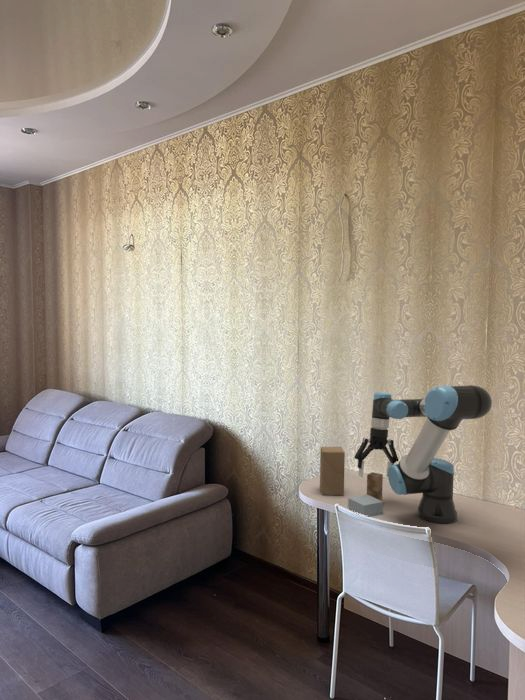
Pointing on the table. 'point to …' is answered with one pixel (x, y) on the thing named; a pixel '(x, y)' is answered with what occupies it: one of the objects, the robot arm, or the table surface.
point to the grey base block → (365, 505)
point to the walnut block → (375, 485)
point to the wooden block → (332, 470)
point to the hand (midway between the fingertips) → (374, 476)
